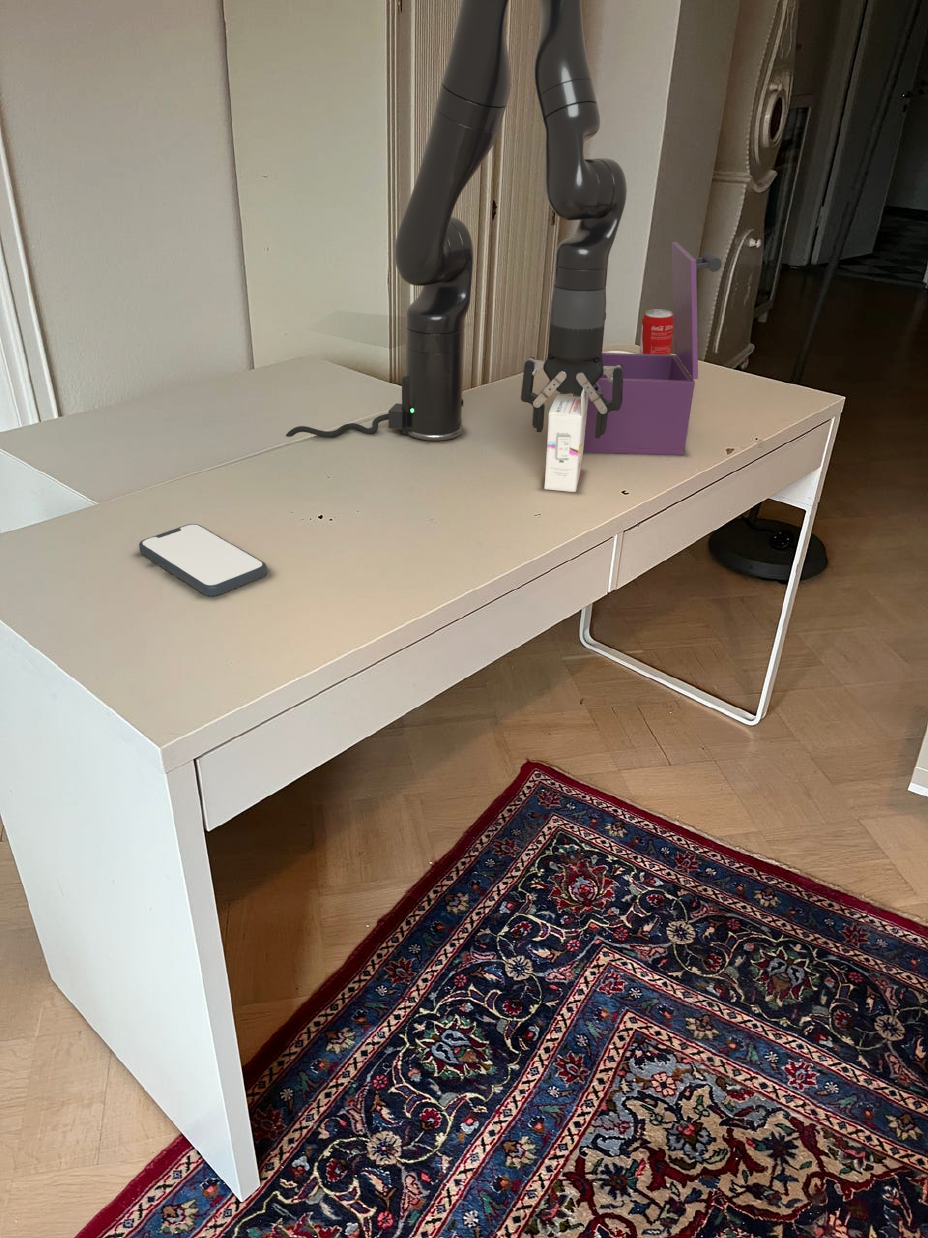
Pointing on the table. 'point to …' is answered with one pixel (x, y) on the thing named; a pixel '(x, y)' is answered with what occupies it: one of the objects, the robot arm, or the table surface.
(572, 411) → the ink cartridge box
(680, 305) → the lid
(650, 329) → the beverage can
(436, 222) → the robot arm
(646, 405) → the box
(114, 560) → the table surface
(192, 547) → the smartphone
